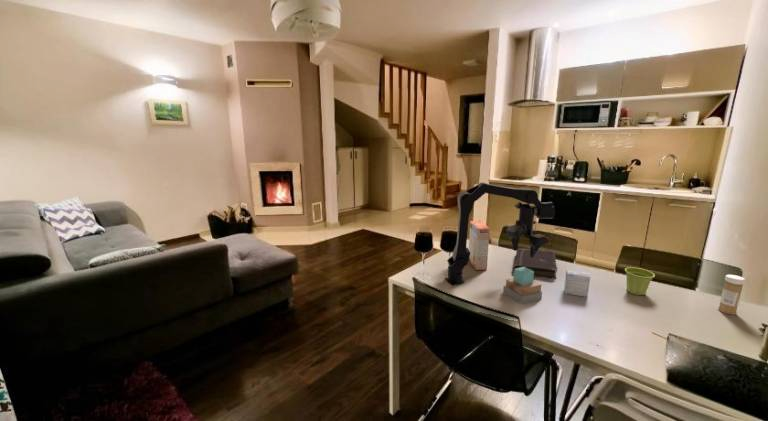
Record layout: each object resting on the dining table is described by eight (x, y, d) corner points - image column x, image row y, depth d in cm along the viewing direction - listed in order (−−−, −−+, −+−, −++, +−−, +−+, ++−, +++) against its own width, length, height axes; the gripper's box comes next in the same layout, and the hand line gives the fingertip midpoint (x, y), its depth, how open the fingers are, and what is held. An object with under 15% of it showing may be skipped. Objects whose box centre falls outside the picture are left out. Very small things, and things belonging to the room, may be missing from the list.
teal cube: (513, 280, 127) (514, 268, 126) (523, 278, 129) (524, 266, 128) (522, 285, 122) (523, 273, 121) (532, 283, 124) (534, 271, 123)
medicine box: (586, 292, 129) (588, 272, 127) (587, 297, 125) (590, 277, 123) (563, 289, 132) (566, 269, 130) (564, 293, 128) (567, 273, 126)
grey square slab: (503, 293, 130) (503, 285, 129) (521, 289, 134) (522, 281, 133) (521, 305, 121) (522, 296, 120) (541, 299, 125) (542, 291, 124)
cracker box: (487, 270, 151) (490, 228, 147) (475, 270, 151) (477, 228, 147) (479, 259, 165) (481, 220, 160) (467, 259, 165) (469, 220, 160)
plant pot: (652, 291, 129) (655, 271, 127) (649, 300, 122) (653, 279, 120) (623, 284, 135) (626, 265, 133) (620, 292, 128) (623, 272, 126)
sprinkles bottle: (739, 314, 112) (748, 278, 109) (730, 315, 111) (739, 280, 108) (723, 307, 116) (732, 273, 113) (714, 309, 115) (722, 274, 112)
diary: (513, 274, 148) (513, 264, 147) (516, 256, 170) (516, 247, 169) (558, 280, 140) (559, 270, 139) (555, 260, 162) (556, 251, 161)
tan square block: (505, 286, 129) (506, 279, 128) (522, 282, 132) (523, 275, 131) (523, 296, 120) (523, 288, 120) (540, 291, 124) (541, 284, 123)
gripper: (495, 215, 138) (493, 249, 141) (528, 226, 121) (525, 264, 124) (515, 213, 142) (512, 246, 145) (550, 222, 125) (546, 260, 128)
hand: (523, 253), depth 136 cm, fingers open, 9 cm apart
